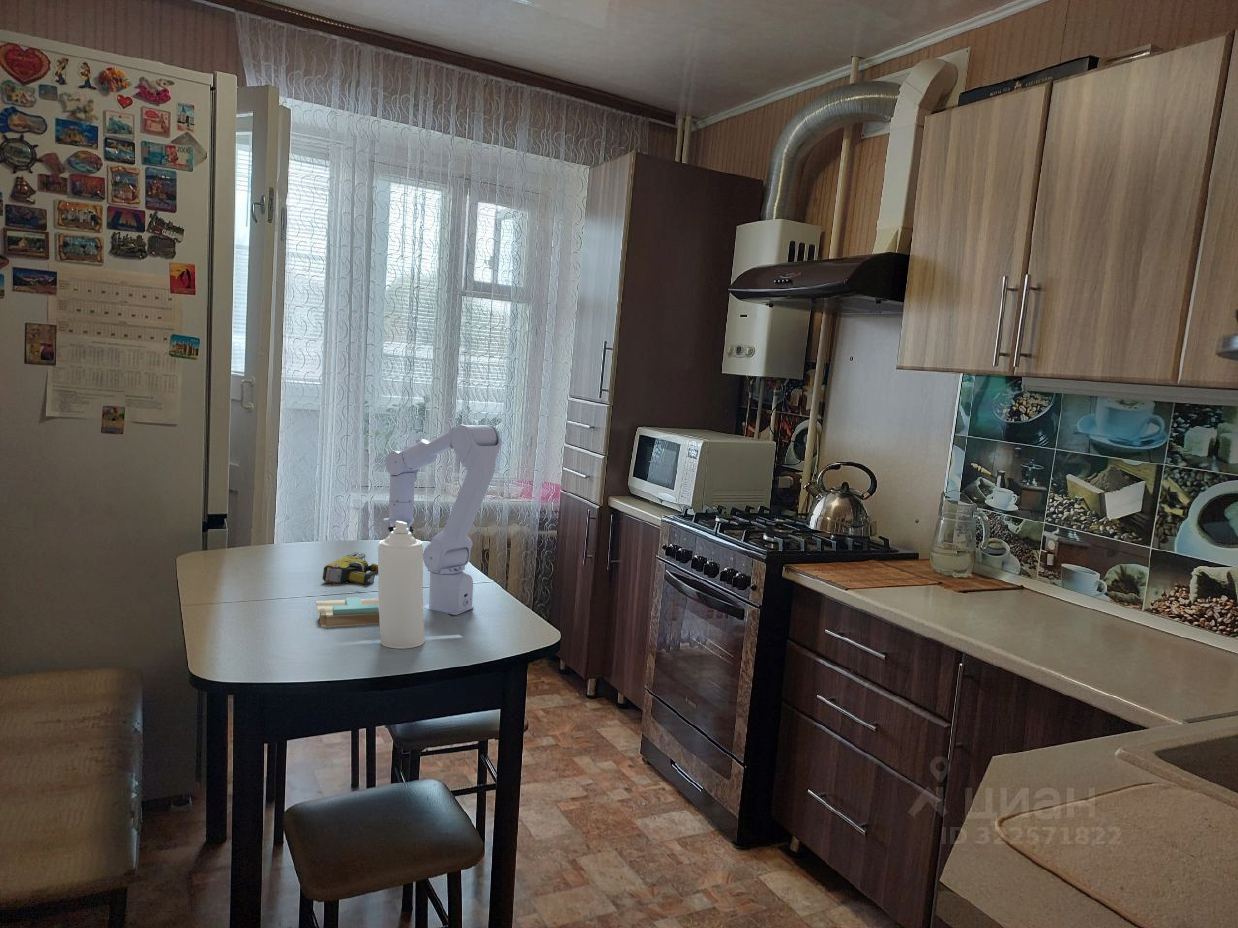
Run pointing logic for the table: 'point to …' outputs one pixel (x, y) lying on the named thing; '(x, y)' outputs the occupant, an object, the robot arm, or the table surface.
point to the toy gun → (350, 570)
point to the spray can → (401, 589)
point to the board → (345, 619)
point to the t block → (355, 607)
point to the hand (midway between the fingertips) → (399, 556)
